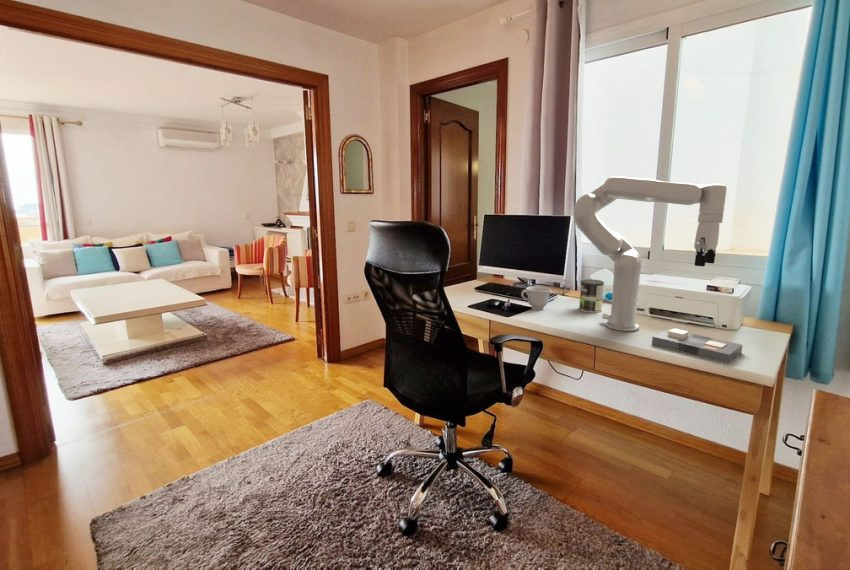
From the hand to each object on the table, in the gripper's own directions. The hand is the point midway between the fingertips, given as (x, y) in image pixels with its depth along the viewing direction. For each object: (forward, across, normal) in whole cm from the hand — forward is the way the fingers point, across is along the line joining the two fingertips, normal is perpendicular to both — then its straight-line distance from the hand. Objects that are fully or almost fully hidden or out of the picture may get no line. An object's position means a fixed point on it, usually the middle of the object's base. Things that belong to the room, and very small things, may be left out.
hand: (704, 264), depth 158 cm
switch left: (+26, +15, -1) cm, 30 cm away
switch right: (+28, +15, +11) cm, 33 cm away
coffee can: (+28, -5, -47) cm, 55 cm away
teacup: (+28, +13, -66) cm, 73 cm away
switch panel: (+28, +15, +5) cm, 32 cm away
